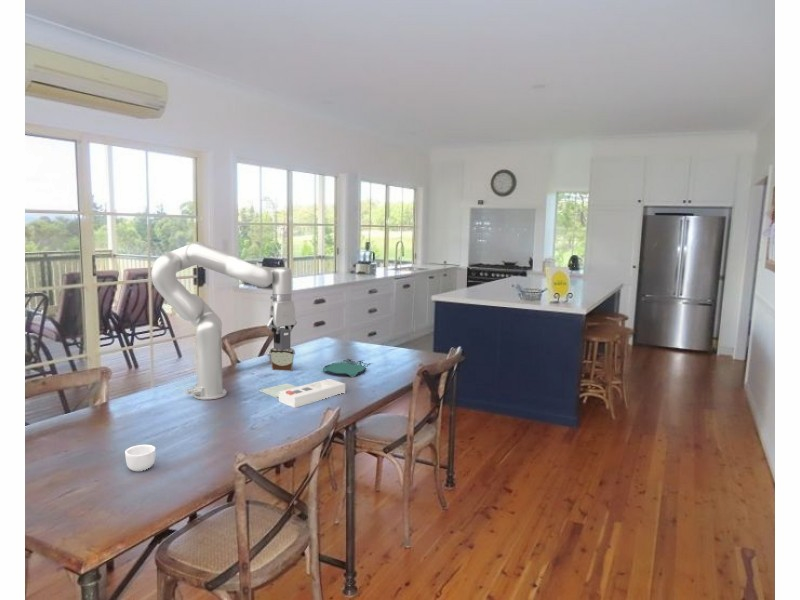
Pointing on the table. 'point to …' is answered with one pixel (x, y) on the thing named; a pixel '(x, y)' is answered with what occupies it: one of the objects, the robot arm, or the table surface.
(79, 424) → the table surface
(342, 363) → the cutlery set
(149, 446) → the teacup
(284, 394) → the power strip
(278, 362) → the food container
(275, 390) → the mat
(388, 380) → the table surface
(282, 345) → the block
